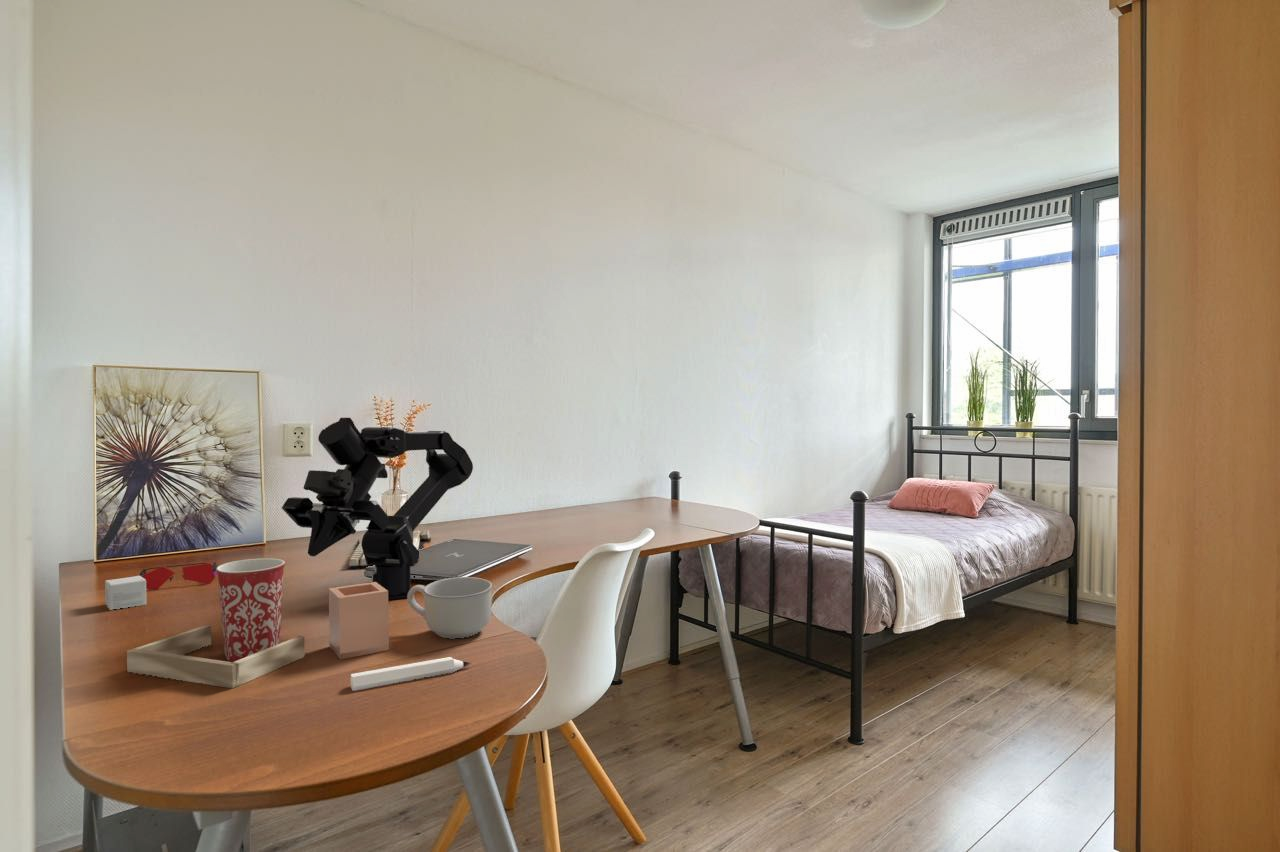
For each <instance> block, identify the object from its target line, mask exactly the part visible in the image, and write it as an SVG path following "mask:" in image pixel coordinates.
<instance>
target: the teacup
mask: <svg viewBox="0 0 1280 852" xmlns="http://www.w3.org/2000/svg"><path fill="white" fill-rule="evenodd" d="M410 588H411V589H410V590H409V592H408V595H407V599H406V600H407V603H408V605H409V607H410V608H411V610H413V611H414V612H416V613H417V614H419V615H420V616H422V617H423V619H424V620H425V621H426V622H425V623H426V625H427V627H428V628H429V629H430V630H431V632H433V633H435V634H436V635H437V636H438V637H440V638H443V639H447V638H449V639H448V640H456V639H455V638H462V639H465V638H464V637H467V638H470V637H469V636H471V637H473V636H475V634H476V635H477V634H478V632H479V633H480V632H481V631H482V629H484V628H485V627H486V626H487V625H488V624H489V622H490V619H491V616H492V615H491V614H492V588H493V583H492V582H491V581H489V580H488V579H484V578H481V577H473V576H458V577H456V576H455V577H448V578H447V577H446V578H443V579H438V580H436V581H433V582H431V583H429V584H427V585H423V584H415V585H413V586H412V587H410ZM417 592H419V593H421V594H422V596H423V598H424V607H422V606H421V605H420V604H419V603H417V601H416V599H415V595H416V594H415V593H417ZM472 635H473V636H472Z"/></svg>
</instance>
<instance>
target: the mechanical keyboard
mask: <svg viewBox="0 0 1280 852" xmlns="http://www.w3.org/2000/svg"><path fill="white" fill-rule="evenodd" d="M430 536H431V533H430V530H429V529H425V530H423V531H420V530H414V531H413V545H414V546H415V547H416V548H417V550H419V549H422V548H425V547H427V546H430V547H431V542H432V537H430ZM348 566H349V567H348V568H347V571H354V570H355V571H357V570H366V569H365V568H366V567H368V566H373V565H367V563H366V560H365V556H364V553H363V549H362V540H360V539H357V542H355V544H354V548H353V553H352V555H351V556H350V558H349V560H348Z"/></svg>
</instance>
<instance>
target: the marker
mask: <svg viewBox="0 0 1280 852" xmlns="http://www.w3.org/2000/svg"><path fill="white" fill-rule="evenodd" d="M469 665H472V662H468V661H463V660H458V659H455V658H453V657H452V656H448V657H444V658H443V657H442V658H437V659H429V660H424V661H419V662H413V663H407V664H406V663H405V664H402V665H396V666H389V667H385V668H384V667H383V668H377V669H373V670H366V671H361V672H355V673H351V674H350V688H351V690H352V692H355V691H356V692H357V691H360V690H361V691H362V690H367V689H371V688H376V687H382V686H389V685H393V683H394V684H397V683H398V684H399V682H400V683H404V681H405V682H409V681H414V679H416V680H420V678H421V679H425V678H424V677H427V678H431V676H432V677H437V676H442V675H441V674H443V675H447V673H448V674H452V673H453V672H454V673H456V672H457V670H458V671H460V670H461V669H463V668H465V667H467V666H469ZM455 671H456V672H455ZM436 675H437V676H436Z"/></svg>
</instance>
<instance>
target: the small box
mask: <svg viewBox="0 0 1280 852" xmlns="http://www.w3.org/2000/svg"><path fill="white" fill-rule="evenodd" d="M104 588H105V589H104V590H105V596H104V597H105V606H106V605H107V606H106V607H107V609H109V611H111V610H112V609H117V610H121V609H120V608H123V609H129V608H128V607H130V608H135V606H136V607H140V606H141V607H142V606H147V589H146V580H145V579H144V578H142V577H141V576H139V575H135V576H130V577H129V576H128V577H123V578H122V577H121V578H115V579H113V578H112V579H106V580H104ZM112 611H113V610H112Z"/></svg>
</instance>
